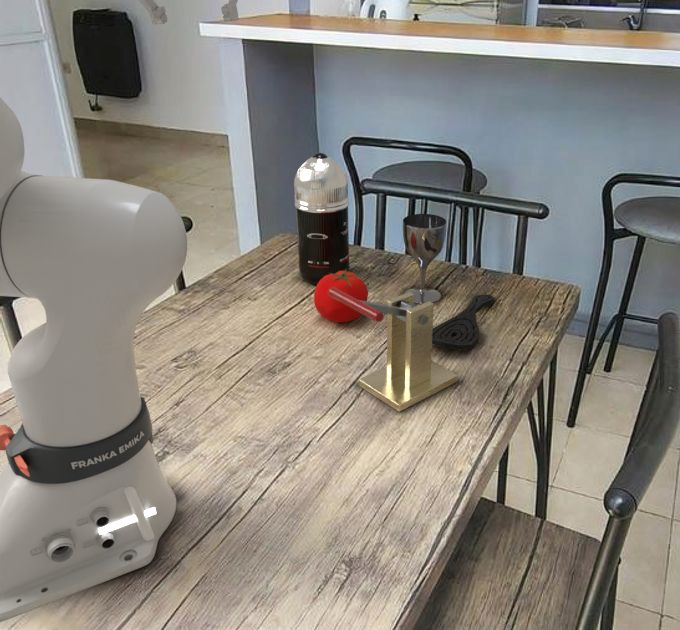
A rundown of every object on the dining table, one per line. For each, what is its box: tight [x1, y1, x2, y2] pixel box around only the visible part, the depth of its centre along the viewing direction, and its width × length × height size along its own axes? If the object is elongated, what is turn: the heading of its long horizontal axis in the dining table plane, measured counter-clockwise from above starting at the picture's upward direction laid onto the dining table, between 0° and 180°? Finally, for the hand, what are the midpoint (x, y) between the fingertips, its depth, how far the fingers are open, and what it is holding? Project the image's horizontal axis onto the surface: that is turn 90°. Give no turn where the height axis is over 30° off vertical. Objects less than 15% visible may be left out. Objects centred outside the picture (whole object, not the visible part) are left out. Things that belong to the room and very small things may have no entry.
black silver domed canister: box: [293, 152, 350, 285], centre depth 131 cm, size 10×10×25 cm
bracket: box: [358, 292, 459, 413], centre depth 100 cm, size 12×9×14 cm
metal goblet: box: [402, 213, 447, 305], centre depth 127 cm, size 8×8×15 cm
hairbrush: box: [432, 294, 495, 351], centre depth 119 cm, size 8×4×25 cm
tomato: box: [313, 270, 369, 323], centre depth 120 cm, size 9×10×8 cm
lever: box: [328, 287, 418, 323], centre depth 93 cm, size 13×10×2 cm
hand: (195, 21), depth 88 cm, fingers open, 8 cm apart
